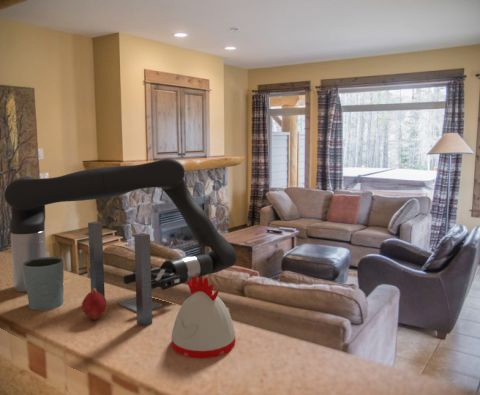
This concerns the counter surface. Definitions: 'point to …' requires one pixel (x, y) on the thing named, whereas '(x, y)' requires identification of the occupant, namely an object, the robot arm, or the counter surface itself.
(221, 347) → the kitchen timer
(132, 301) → the mat
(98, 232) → the left post
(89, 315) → the onion
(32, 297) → the teal cup
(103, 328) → the counter surface
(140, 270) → the right post
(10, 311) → the counter surface
